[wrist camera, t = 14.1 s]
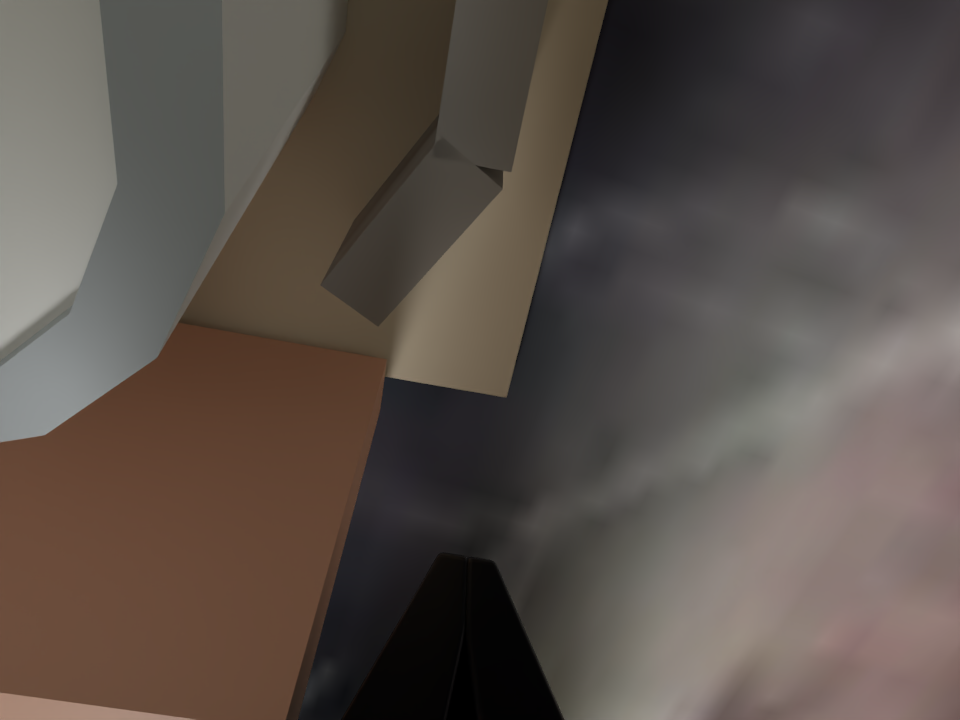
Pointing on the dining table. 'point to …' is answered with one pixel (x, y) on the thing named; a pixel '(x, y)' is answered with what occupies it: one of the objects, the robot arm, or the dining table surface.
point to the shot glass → (131, 174)
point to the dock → (342, 167)
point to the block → (183, 534)
